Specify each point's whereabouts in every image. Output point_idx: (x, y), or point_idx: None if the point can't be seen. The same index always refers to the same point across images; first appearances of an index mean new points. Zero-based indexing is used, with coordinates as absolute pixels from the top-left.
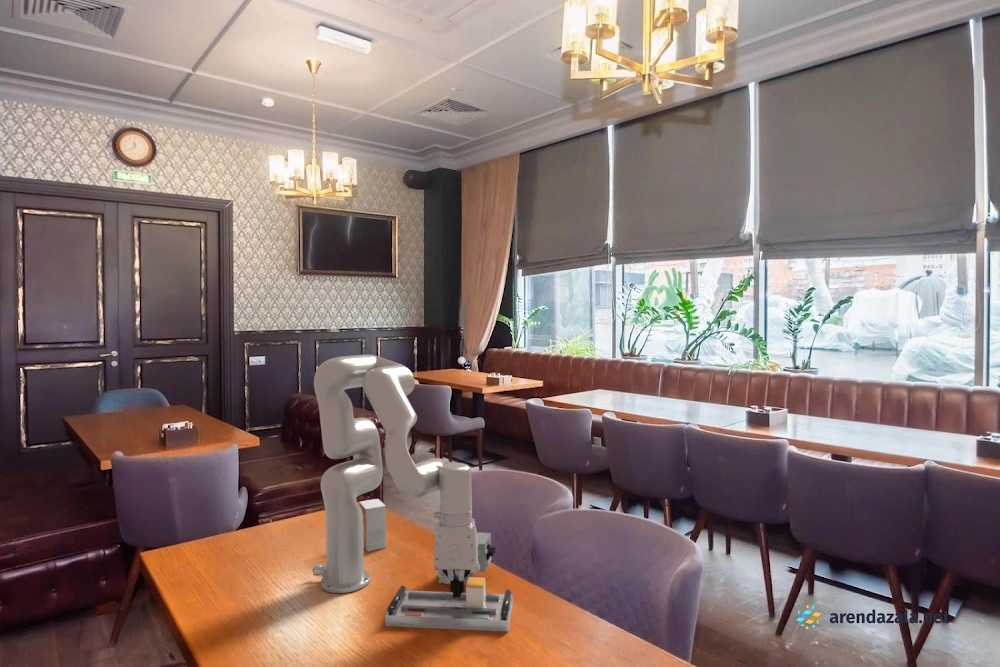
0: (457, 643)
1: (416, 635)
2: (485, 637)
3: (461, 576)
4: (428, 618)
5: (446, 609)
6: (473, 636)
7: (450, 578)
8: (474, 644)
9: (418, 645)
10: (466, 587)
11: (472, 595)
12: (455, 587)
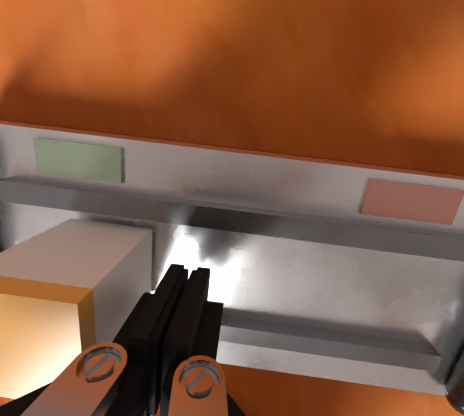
0: (185, 25)
1: (374, 99)
2: (73, 77)
3: (80, 384)
4: (334, 163)
5: (245, 211)
6: (124, 86)
7: (206, 379)
8: (109, 15)
9: (366, 6)
10: (88, 290)
11: (81, 255)
12: (178, 307)
